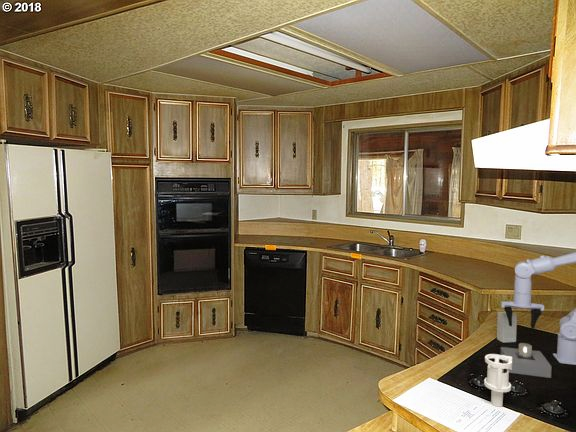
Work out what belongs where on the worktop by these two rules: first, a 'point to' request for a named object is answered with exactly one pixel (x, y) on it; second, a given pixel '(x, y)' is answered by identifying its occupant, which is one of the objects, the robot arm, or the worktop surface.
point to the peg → (524, 351)
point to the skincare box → (506, 328)
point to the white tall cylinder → (497, 377)
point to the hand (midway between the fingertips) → (521, 326)
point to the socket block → (528, 363)
